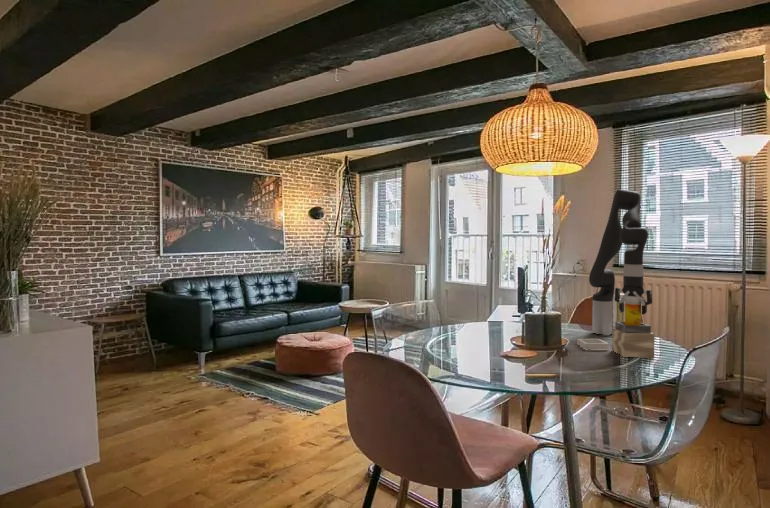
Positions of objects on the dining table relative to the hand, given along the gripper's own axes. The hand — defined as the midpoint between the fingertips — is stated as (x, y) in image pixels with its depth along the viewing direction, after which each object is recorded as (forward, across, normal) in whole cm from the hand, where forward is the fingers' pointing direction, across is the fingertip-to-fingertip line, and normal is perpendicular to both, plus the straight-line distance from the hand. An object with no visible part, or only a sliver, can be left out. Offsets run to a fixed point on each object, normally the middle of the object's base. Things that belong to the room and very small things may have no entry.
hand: (632, 313), depth 205 cm
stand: (+18, 0, 0) cm, 18 cm away
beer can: (+8, 0, 0) cm, 8 cm away
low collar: (+18, -17, 0) cm, 24 cm away
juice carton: (+18, -24, +52) cm, 60 cm away
